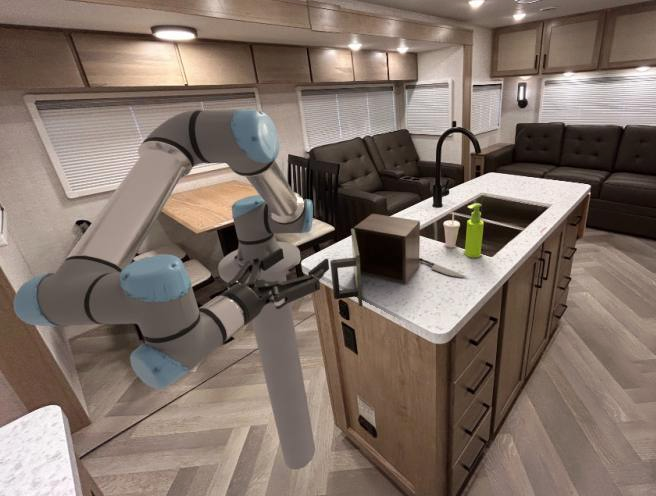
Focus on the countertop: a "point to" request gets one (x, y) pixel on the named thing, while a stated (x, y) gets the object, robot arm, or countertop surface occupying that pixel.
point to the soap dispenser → (474, 233)
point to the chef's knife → (442, 269)
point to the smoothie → (451, 232)
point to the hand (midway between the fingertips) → (304, 258)
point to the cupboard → (388, 247)
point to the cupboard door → (356, 263)
